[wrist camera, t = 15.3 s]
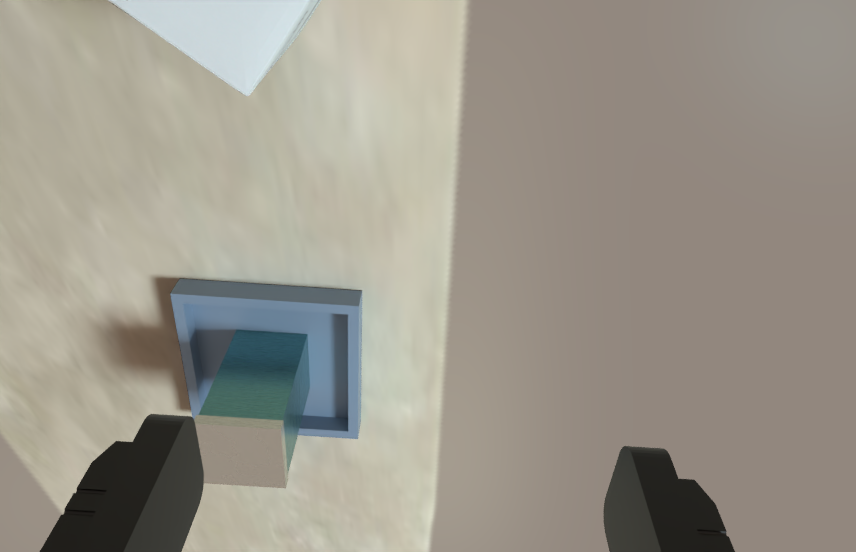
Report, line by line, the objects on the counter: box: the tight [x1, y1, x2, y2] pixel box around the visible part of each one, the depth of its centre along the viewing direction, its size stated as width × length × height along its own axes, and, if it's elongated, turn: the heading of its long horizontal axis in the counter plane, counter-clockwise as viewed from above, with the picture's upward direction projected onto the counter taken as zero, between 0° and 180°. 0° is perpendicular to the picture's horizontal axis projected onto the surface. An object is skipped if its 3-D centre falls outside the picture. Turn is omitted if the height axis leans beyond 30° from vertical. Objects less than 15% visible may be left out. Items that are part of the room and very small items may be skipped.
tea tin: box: [194, 329, 310, 488], centre depth 48 cm, size 6×6×10 cm
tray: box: [170, 279, 362, 439], centre depth 52 cm, size 14×14×2 cm
